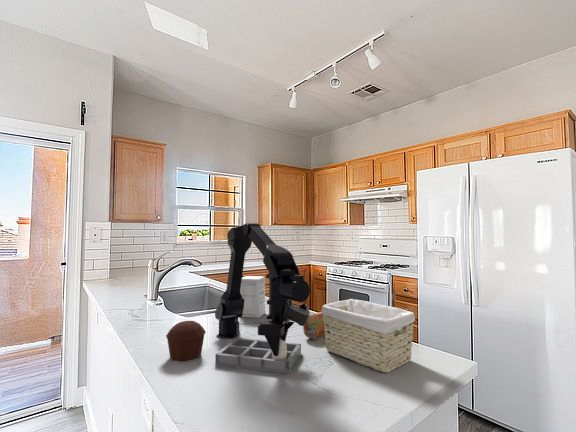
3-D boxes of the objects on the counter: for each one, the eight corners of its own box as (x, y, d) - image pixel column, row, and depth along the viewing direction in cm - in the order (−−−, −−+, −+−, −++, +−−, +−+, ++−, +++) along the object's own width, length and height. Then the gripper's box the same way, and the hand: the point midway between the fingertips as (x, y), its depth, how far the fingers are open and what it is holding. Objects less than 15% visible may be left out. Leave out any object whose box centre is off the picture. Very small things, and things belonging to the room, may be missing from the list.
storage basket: (418, 361, 93) (417, 310, 94) (387, 378, 83) (386, 320, 83) (352, 340, 111) (351, 297, 112) (319, 352, 101) (319, 304, 101)
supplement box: (265, 313, 148) (265, 276, 149) (259, 318, 139) (259, 279, 140) (246, 311, 150) (246, 275, 151) (238, 316, 141) (239, 278, 142)
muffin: (188, 366, 90) (189, 329, 90) (157, 360, 93) (157, 325, 94) (212, 351, 101) (213, 319, 101) (183, 346, 104) (184, 315, 105)
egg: (269, 363, 88) (269, 340, 89) (274, 358, 92) (274, 336, 93) (284, 365, 87) (284, 342, 88) (288, 359, 91) (288, 337, 92)
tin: (308, 342, 109) (308, 317, 110) (301, 339, 112) (301, 315, 112) (336, 333, 120) (336, 310, 120) (329, 331, 122) (329, 308, 122)
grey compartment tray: (215, 365, 90) (215, 354, 90) (236, 347, 104) (236, 337, 105) (288, 374, 85) (288, 362, 85) (300, 353, 99) (300, 343, 99)
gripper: (299, 305, 79) (299, 369, 79) (313, 291, 97) (313, 343, 97) (257, 302, 82) (256, 364, 82) (278, 289, 100) (278, 340, 100)
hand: (278, 352), depth 90 cm, fingers open, 5 cm apart
